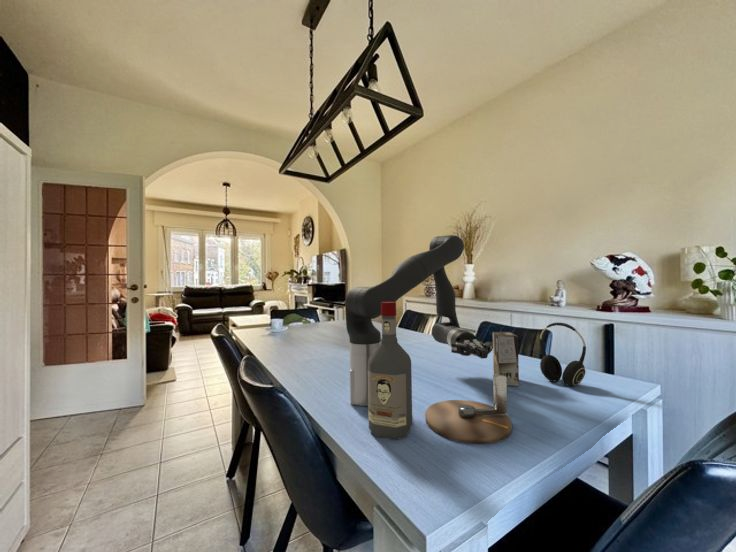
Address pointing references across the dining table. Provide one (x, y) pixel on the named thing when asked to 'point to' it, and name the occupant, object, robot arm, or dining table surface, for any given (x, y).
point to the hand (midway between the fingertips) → (484, 354)
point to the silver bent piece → (499, 400)
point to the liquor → (389, 382)
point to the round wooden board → (467, 423)
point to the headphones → (553, 367)
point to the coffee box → (506, 356)
